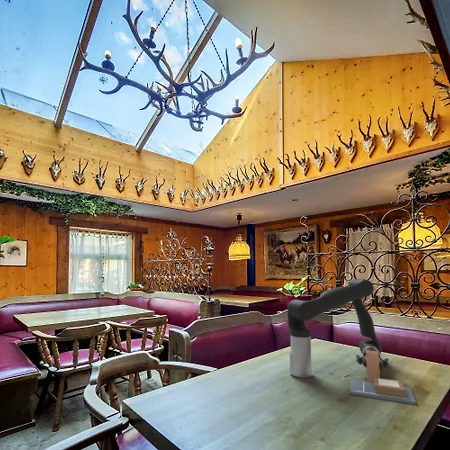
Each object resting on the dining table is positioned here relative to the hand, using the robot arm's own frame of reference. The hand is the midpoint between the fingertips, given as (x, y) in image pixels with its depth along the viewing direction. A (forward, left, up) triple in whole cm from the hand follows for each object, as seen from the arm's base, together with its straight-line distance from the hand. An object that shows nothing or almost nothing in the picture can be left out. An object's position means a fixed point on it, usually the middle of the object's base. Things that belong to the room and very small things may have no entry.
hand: (372, 365), depth 130 cm
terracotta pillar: (0, +3, -7) cm, 7 cm away
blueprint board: (+2, -9, -7) cm, 12 cm away
